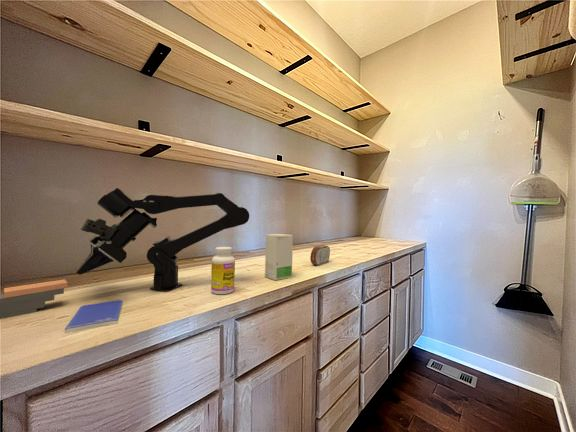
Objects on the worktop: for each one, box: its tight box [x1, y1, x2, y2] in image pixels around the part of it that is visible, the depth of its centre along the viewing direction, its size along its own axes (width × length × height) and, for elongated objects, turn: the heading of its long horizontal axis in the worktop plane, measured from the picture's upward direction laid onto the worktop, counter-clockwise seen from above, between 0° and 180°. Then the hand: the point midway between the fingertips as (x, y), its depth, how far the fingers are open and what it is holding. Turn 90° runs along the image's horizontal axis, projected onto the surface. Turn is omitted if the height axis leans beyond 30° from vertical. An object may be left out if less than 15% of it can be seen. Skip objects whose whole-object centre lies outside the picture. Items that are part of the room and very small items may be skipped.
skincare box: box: [264, 233, 294, 281], centre depth 87 cm, size 8×7×16 cm
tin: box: [309, 244, 331, 266], centre depth 111 cm, size 15×3×8 cm, turn 144°
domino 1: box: [3, 278, 68, 298], centre depth 56 cm, size 1×4×10 cm
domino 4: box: [0, 308, 38, 320], centre depth 53 cm, size 1×4×10 cm
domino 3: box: [0, 302, 46, 315], centre depth 54 cm, size 1×4×10 cm
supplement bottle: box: [210, 246, 236, 295], centre depth 71 cm, size 7×7×13 cm
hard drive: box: [64, 299, 124, 334], centre depth 53 cm, size 2×8×12 cm
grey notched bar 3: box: [0, 295, 55, 310], centre depth 55 cm, size 1×4×10 cm
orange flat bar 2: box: [0, 288, 65, 304], centre depth 56 cm, size 1×4×10 cm
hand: (77, 273), depth 61 cm, fingers closed
